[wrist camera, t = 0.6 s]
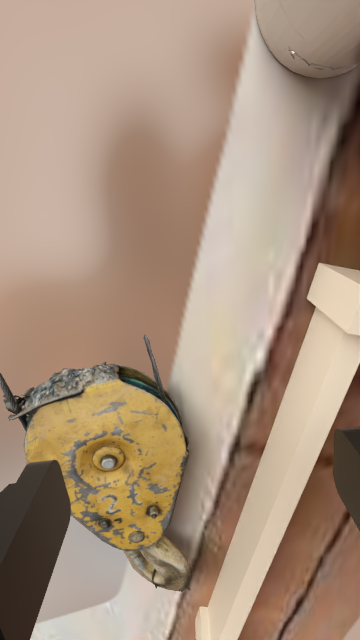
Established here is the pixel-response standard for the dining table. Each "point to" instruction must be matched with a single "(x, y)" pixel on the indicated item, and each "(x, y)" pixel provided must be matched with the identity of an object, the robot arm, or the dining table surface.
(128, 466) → the pulley block
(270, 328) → the dining table surface
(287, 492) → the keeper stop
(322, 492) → the dining table surface
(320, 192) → the dining table surface
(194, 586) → the dining table surface
